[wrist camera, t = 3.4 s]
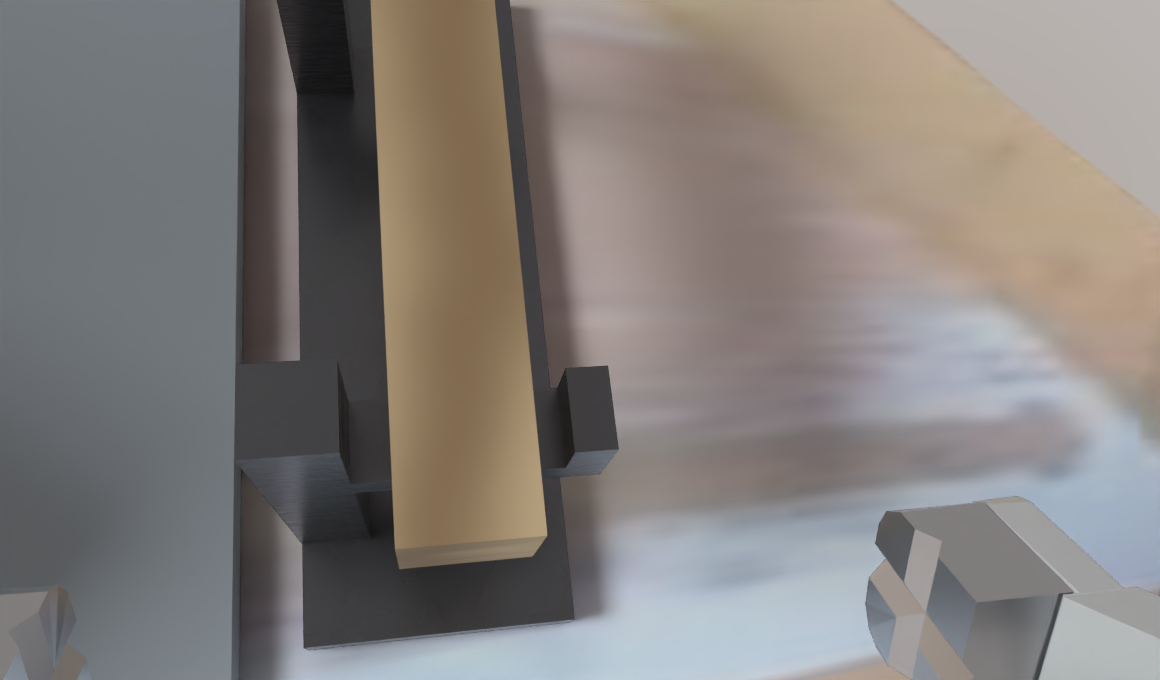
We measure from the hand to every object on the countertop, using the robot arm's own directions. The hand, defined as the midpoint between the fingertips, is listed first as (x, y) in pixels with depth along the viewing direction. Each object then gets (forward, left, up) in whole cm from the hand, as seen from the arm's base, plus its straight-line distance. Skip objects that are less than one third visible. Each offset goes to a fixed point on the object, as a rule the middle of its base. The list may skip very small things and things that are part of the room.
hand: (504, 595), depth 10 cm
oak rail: (0, +13, -12) cm, 18 cm away
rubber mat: (-12, +14, -21) cm, 28 cm away
